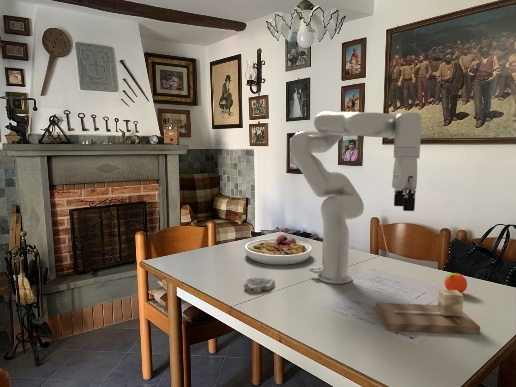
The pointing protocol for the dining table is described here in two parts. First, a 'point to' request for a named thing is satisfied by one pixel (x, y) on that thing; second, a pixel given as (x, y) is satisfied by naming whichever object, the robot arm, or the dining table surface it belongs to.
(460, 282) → the clementine
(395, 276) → the dining table surface
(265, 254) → the bowl
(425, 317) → the board
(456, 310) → the block
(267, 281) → the fossil
